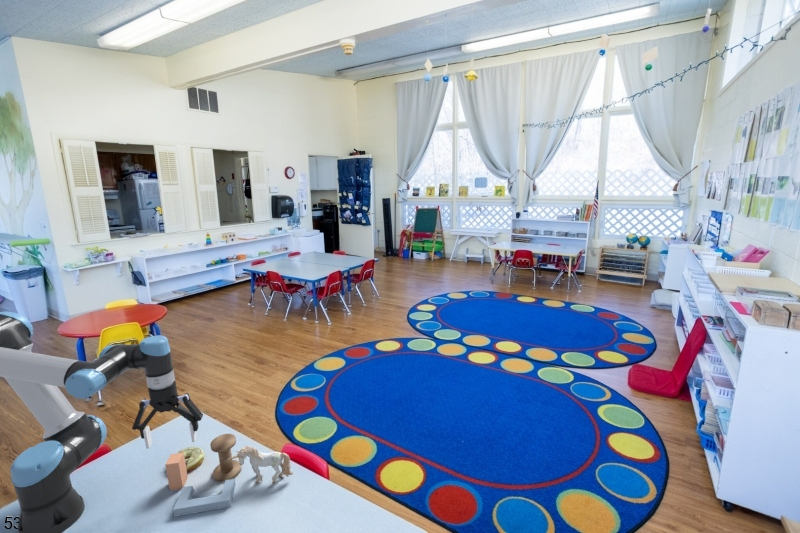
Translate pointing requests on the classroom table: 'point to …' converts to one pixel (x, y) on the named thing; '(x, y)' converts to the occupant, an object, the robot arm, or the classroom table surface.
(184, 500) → the u-shaped block
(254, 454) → the unicorn figurine
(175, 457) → the tab
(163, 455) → the classroom table surface
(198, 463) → the decorated donut
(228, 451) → the bobbin
